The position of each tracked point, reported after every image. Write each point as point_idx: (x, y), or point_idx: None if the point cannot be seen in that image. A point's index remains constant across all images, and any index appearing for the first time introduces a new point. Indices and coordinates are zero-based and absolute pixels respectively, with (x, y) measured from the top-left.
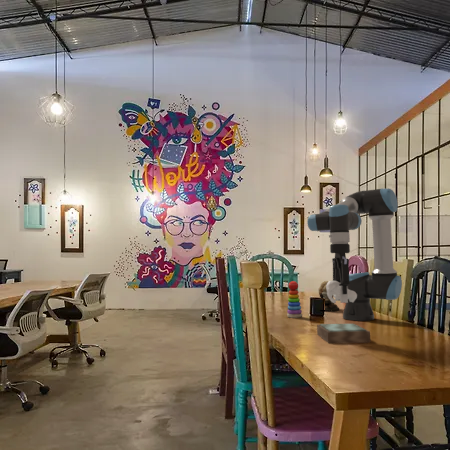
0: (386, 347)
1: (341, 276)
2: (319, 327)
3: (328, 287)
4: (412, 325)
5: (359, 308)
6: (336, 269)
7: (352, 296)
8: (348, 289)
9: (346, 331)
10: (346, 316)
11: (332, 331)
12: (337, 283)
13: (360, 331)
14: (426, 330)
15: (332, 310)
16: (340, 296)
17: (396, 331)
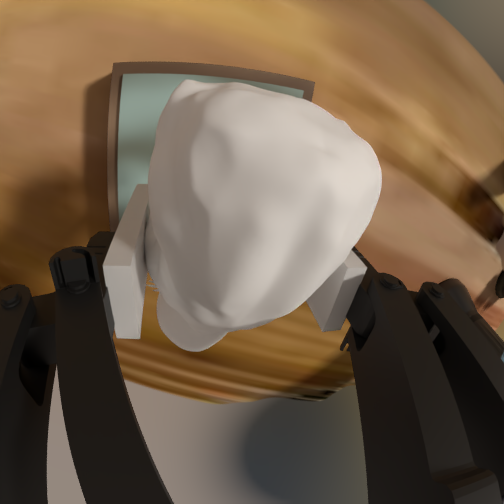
0: (53, 247)
1: (64, 398)
2: (268, 72)
3: (196, 92)
4: (321, 383)
5: (437, 327)
6: (423, 474)
7: (157, 303)
8: (192, 328)
9: (116, 152)
10: (448, 286)
11: (122, 86)
12: (188, 267)
13: (113, 212)
14: (262, 392)
15: (500, 280)
16: (141, 203)
17: (271, 346)
